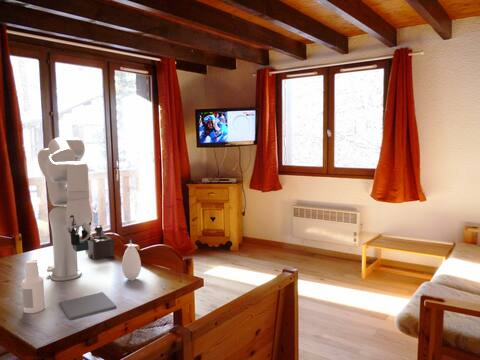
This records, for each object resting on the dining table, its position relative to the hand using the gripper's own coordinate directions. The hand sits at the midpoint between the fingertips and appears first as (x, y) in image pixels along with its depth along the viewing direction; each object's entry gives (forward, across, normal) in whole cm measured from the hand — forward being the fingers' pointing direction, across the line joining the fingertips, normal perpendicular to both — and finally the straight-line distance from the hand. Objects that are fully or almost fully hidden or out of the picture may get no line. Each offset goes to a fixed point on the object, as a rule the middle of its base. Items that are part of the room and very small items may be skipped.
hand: (81, 242), depth 148 cm
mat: (+23, +5, +4) cm, 24 cm away
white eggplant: (+22, -23, +9) cm, 33 cm away
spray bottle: (+23, +11, -13) cm, 28 cm away
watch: (+3, 0, 0) cm, 3 cm away
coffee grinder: (+21, -52, -20) cm, 60 cm away
